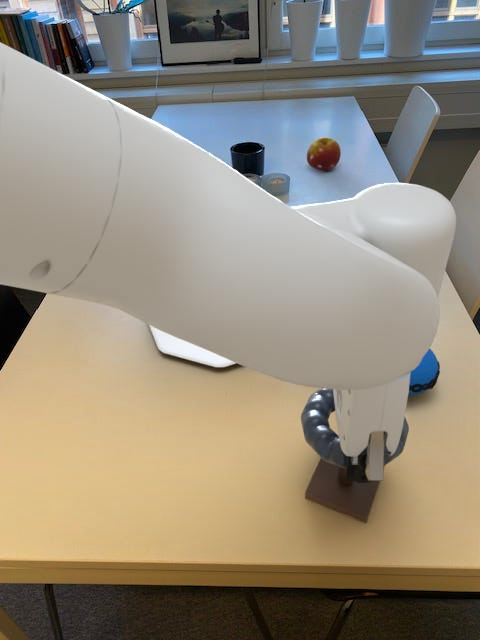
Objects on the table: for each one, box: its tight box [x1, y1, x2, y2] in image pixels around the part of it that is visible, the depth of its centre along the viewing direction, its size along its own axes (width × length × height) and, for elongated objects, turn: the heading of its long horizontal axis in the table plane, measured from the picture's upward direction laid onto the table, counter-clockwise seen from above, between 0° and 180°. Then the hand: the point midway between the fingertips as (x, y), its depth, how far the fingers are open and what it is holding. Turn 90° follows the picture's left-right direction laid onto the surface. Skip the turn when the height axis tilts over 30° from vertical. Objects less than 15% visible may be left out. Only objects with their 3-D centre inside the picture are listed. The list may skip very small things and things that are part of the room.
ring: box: [300, 388, 410, 469], centre depth 55 cm, size 12×12×3 cm
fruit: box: [306, 136, 342, 172], centre depth 138 cm, size 10×9×8 cm
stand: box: [304, 457, 385, 524], centre depth 60 cm, size 8×8×10 cm
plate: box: [148, 325, 239, 369], centre depth 91 cm, size 28×28×2 cm
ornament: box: [408, 347, 441, 396], centre depth 73 cm, size 9×9×10 cm
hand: (357, 459), depth 53 cm, fingers closed on ring, 3 cm apart
